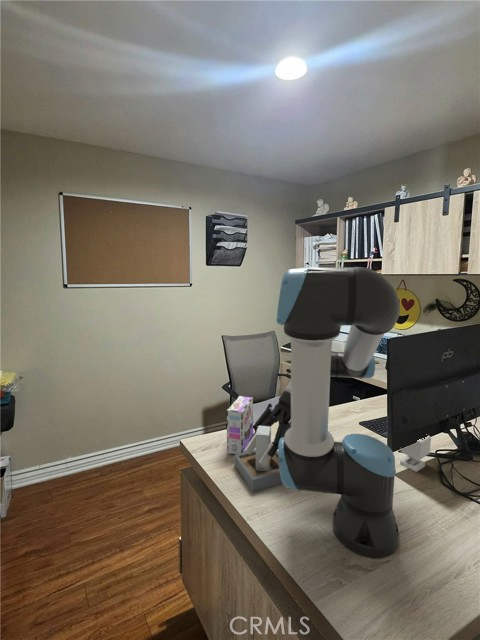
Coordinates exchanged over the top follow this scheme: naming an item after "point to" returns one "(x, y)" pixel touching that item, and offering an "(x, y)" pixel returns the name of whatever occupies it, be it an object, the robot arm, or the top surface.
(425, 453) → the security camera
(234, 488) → the top surface
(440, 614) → the top surface
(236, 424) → the candy box
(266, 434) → the skincare box
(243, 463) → the bore box
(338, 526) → the robot arm
